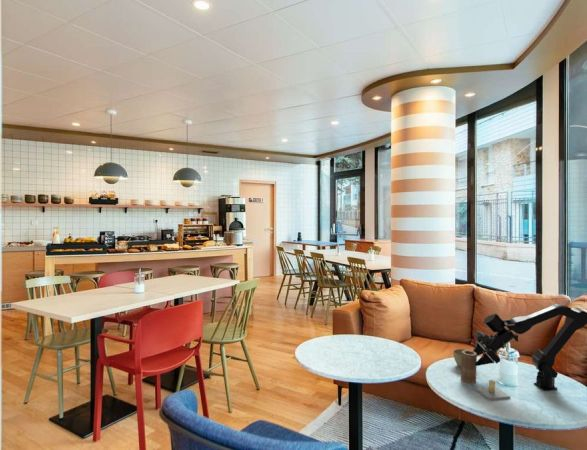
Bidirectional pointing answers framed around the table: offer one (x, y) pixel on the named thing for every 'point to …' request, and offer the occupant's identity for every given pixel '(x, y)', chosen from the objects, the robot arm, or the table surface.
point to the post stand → (491, 391)
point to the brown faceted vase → (468, 366)
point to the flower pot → (458, 356)
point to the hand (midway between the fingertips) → (472, 360)
